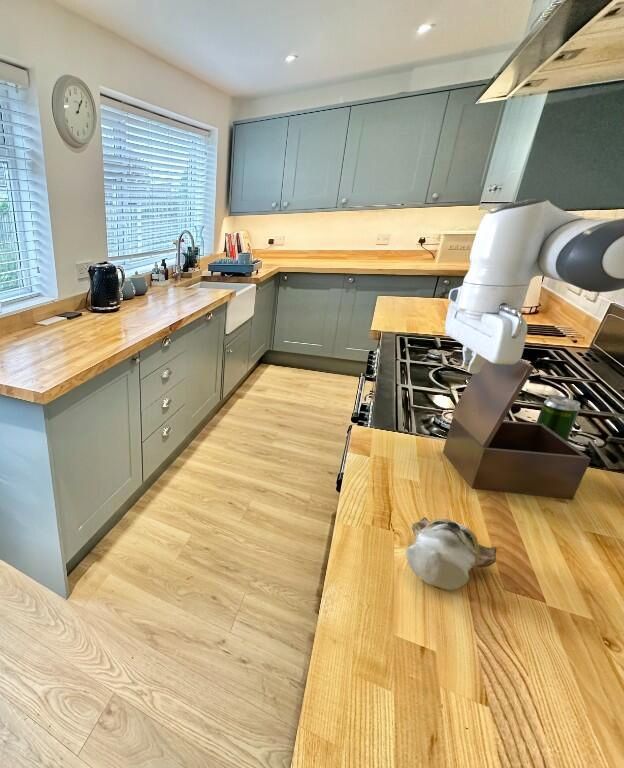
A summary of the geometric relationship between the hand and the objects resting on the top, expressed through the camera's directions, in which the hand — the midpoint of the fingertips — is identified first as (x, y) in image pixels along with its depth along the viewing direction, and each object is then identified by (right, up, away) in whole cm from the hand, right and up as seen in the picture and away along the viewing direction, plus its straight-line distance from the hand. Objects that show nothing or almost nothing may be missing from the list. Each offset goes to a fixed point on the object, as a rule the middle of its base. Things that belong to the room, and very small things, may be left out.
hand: (470, 371), depth 79 cm
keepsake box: (+11, -21, +5) cm, 24 cm away
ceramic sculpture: (-18, -31, -15) cm, 39 cm away
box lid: (+4, -4, +1) cm, 6 cm away
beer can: (+27, -17, +12) cm, 34 cm away
